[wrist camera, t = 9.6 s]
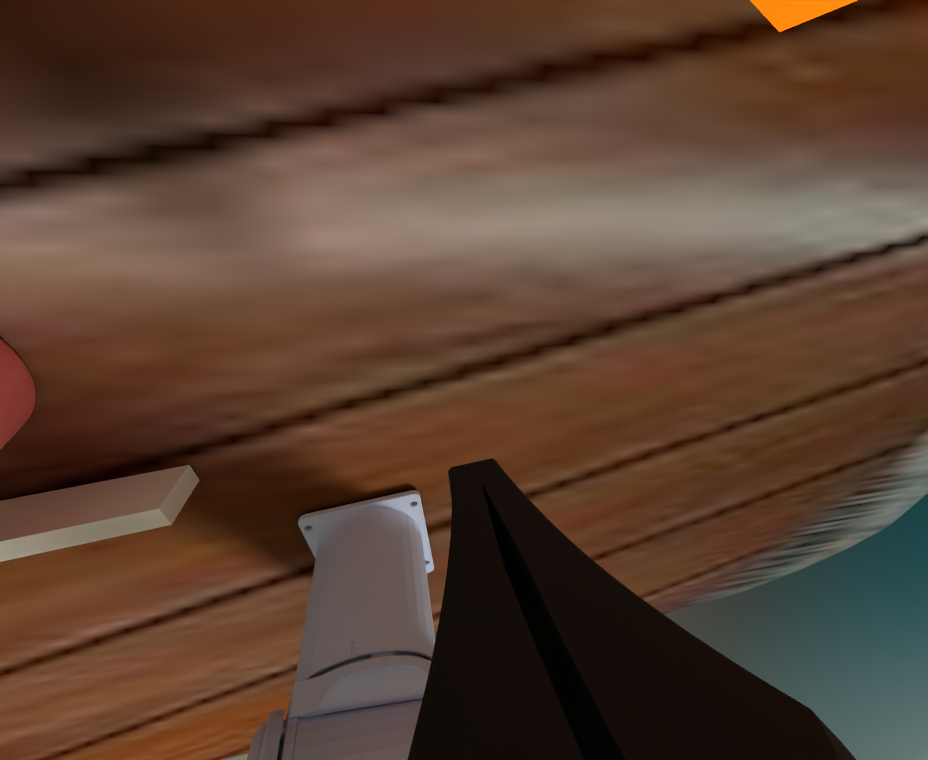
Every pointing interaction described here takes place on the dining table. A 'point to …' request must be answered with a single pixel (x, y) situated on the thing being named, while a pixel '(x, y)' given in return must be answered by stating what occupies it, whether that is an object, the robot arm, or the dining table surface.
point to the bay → (93, 511)
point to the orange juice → (795, 10)
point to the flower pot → (14, 393)
